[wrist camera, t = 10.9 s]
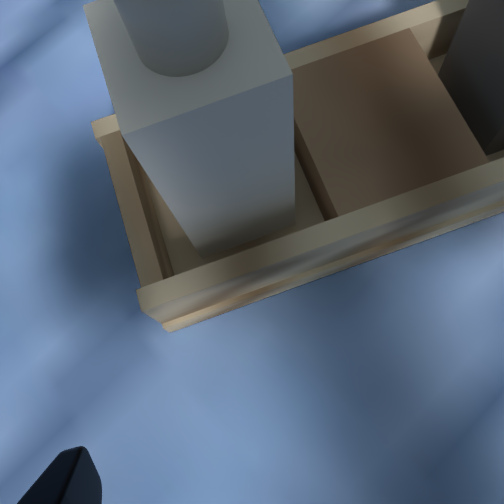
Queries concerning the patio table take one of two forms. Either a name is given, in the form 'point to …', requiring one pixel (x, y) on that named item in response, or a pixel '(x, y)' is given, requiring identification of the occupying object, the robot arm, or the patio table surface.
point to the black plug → (479, 72)
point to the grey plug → (203, 111)
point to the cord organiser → (328, 173)
